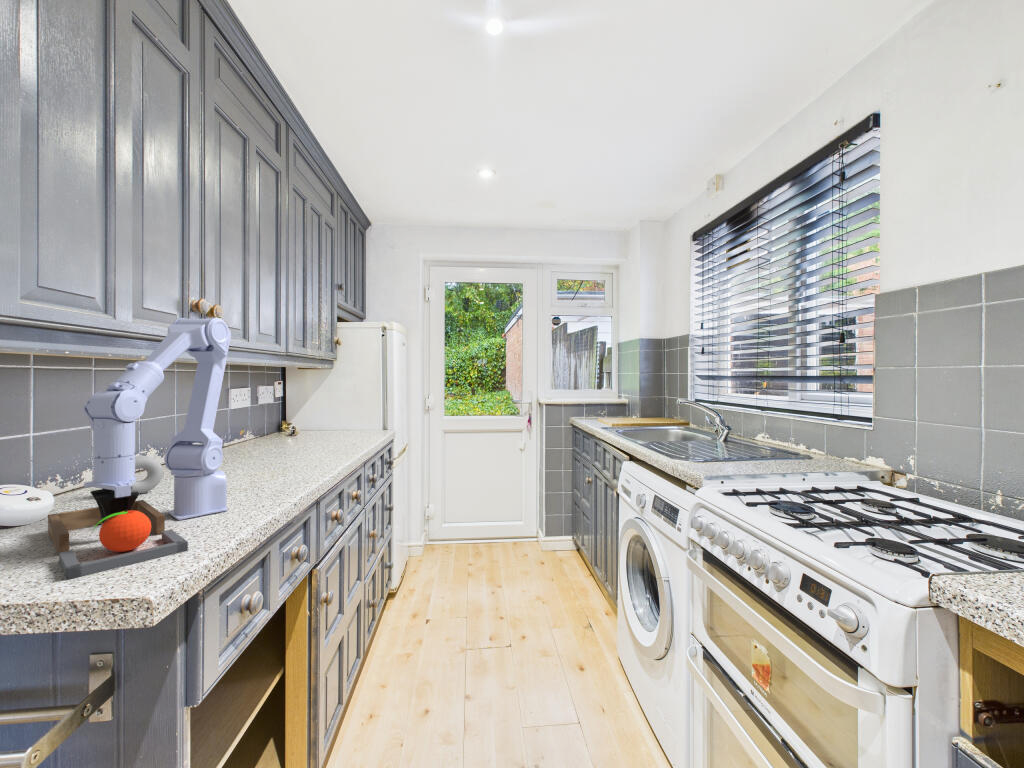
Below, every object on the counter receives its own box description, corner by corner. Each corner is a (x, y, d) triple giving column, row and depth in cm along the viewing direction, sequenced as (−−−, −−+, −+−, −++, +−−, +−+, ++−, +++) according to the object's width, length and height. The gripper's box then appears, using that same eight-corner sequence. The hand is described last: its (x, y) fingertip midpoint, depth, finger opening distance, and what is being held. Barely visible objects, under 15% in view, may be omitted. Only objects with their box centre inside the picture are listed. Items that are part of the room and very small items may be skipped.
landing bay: (171, 537, 84) (171, 529, 84) (187, 550, 78) (187, 541, 78) (59, 561, 72) (59, 552, 72) (67, 579, 66) (67, 569, 66)
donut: (114, 498, 110) (114, 459, 110) (112, 496, 112) (112, 457, 112) (164, 491, 117) (164, 454, 117) (161, 489, 119) (162, 452, 119)
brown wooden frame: (142, 515, 97) (142, 499, 97) (164, 533, 86) (164, 515, 86) (48, 532, 85) (48, 514, 85) (59, 555, 75) (59, 535, 75)
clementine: (98, 564, 71) (98, 520, 71) (84, 554, 75) (84, 513, 75) (158, 548, 78) (158, 508, 78) (142, 540, 82) (142, 502, 82)
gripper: (78, 453, 82) (78, 526, 82) (91, 463, 73) (91, 545, 73) (127, 449, 88) (127, 517, 88) (145, 458, 79) (145, 533, 79)
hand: (114, 529), depth 81 cm, fingers open, 4 cm apart
